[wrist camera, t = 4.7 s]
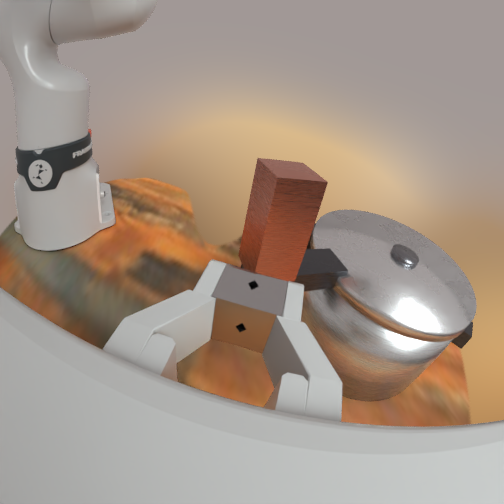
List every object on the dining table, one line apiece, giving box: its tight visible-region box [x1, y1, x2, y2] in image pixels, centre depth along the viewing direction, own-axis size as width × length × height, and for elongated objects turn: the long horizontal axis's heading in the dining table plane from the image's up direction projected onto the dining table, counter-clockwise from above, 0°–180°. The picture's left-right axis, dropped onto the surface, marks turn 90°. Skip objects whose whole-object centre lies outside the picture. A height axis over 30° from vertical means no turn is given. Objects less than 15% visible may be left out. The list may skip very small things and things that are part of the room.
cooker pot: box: [301, 224, 473, 401], centre depth 29 cm, size 27×18×10 cm
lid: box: [239, 158, 476, 342], centre depth 21 cm, size 25×19×8 cm
